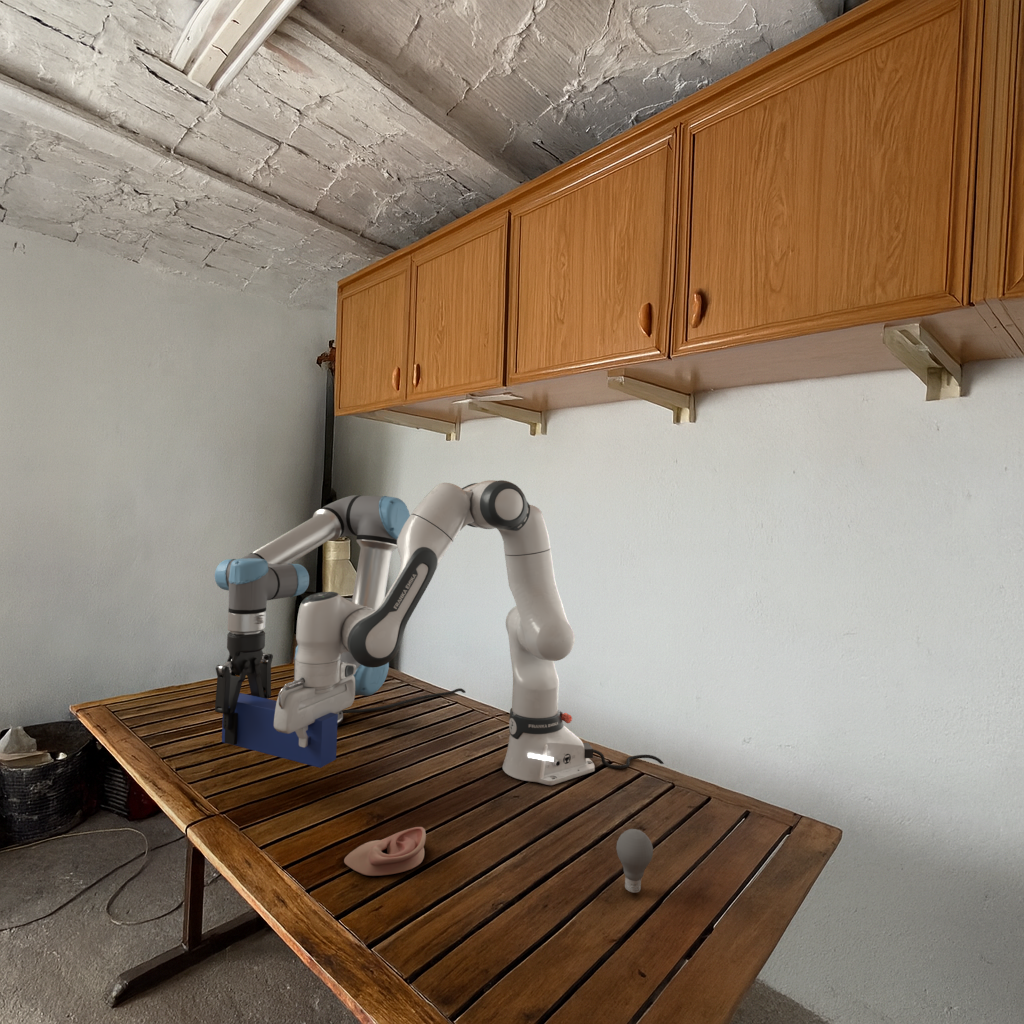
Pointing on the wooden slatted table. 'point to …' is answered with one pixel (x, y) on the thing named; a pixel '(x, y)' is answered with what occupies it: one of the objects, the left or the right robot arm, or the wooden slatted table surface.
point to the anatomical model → (389, 853)
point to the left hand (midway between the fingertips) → (242, 738)
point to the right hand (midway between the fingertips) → (315, 740)
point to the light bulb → (634, 857)
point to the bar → (266, 739)
